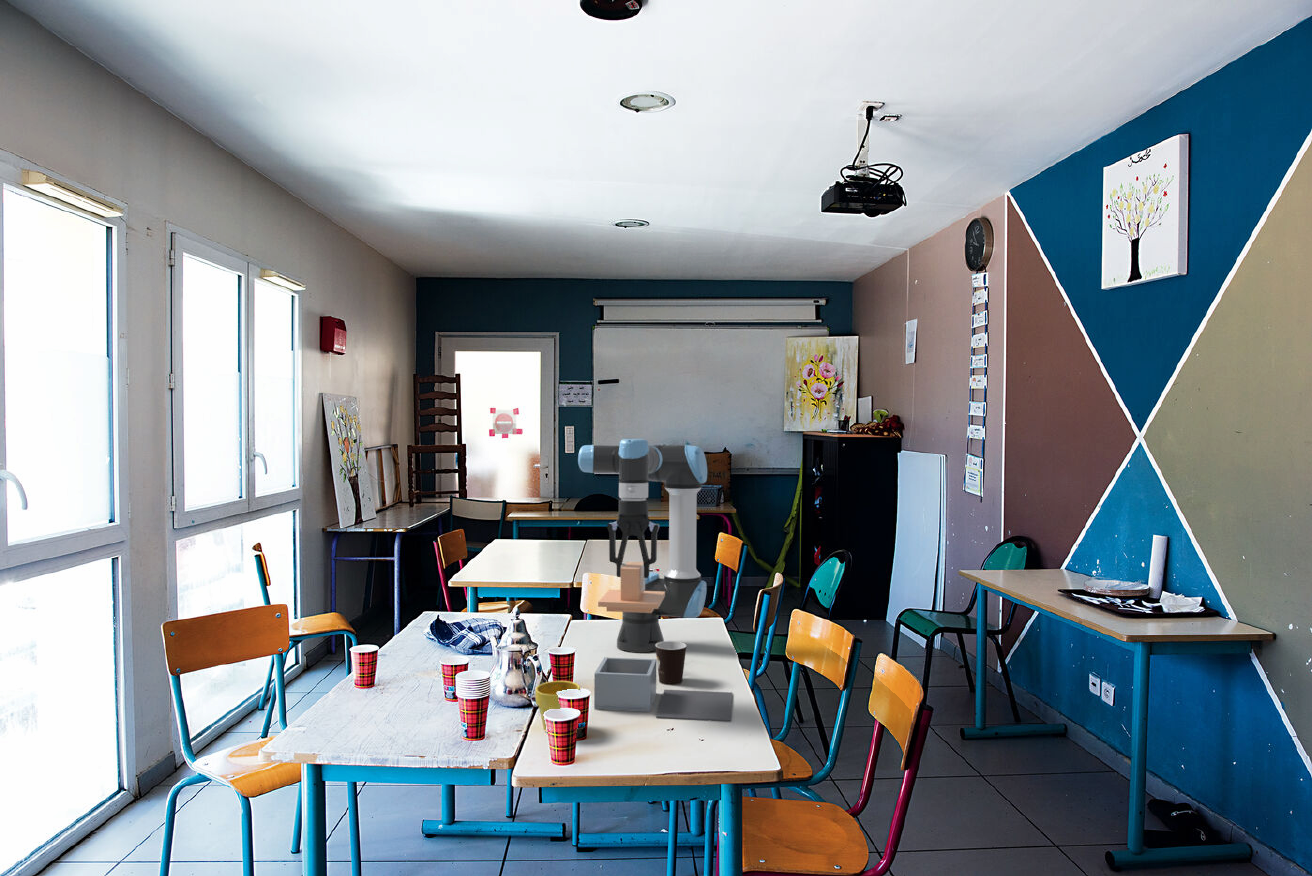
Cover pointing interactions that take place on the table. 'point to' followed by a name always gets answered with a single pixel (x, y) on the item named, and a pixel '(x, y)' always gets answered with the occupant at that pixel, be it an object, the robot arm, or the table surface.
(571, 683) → the plant pot
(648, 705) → the storage box
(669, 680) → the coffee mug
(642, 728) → the table surface
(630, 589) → the lid
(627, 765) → the table surface
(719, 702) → the mat
